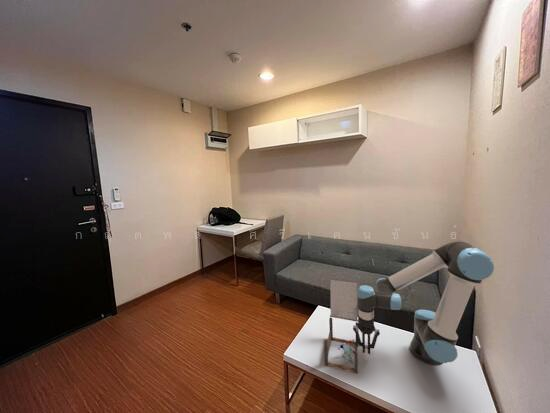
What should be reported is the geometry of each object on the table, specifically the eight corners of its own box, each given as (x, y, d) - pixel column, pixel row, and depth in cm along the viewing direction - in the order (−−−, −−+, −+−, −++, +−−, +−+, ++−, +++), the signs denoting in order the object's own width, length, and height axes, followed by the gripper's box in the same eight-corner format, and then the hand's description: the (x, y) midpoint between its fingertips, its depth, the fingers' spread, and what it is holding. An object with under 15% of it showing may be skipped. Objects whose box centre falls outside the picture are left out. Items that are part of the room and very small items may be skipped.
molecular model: (364, 361, 111) (352, 341, 114) (347, 369, 112) (336, 350, 115) (360, 350, 122) (350, 333, 125) (345, 358, 123) (335, 341, 126)
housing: (358, 344, 127) (358, 322, 126) (357, 373, 108) (357, 348, 107) (330, 338, 133) (329, 317, 132) (324, 365, 114) (324, 341, 113)
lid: (358, 322, 126) (358, 321, 127) (358, 283, 126) (358, 283, 127) (329, 317, 132) (329, 316, 133) (329, 280, 132) (329, 280, 133)
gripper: (379, 314, 114) (379, 356, 117) (352, 310, 119) (353, 350, 122) (380, 323, 107) (380, 367, 110) (352, 318, 112) (352, 360, 115)
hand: (366, 358), depth 116 cm, fingers closed
